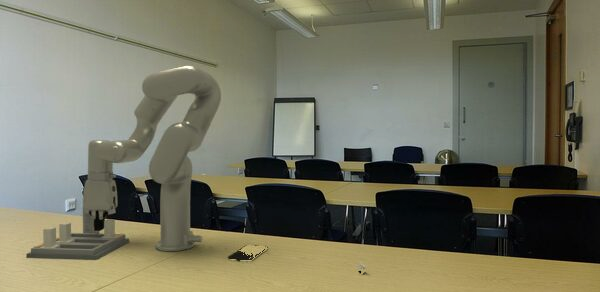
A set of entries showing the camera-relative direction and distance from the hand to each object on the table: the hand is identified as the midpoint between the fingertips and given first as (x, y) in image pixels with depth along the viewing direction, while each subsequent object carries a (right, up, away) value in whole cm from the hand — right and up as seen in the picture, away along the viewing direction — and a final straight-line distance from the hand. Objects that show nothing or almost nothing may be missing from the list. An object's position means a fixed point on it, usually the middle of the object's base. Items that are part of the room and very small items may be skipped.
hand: (99, 230), depth 137 cm
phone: (+52, -6, -10) cm, 53 cm away
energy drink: (-8, -5, +11) cm, 15 cm away
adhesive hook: (+87, -7, -26) cm, 91 cm away
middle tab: (-8, -4, -6) cm, 11 cm away
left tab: (-9, -4, -12) cm, 16 cm away
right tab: (+4, -4, 0) cm, 5 cm away
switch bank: (-3, -5, -6) cm, 8 cm away
